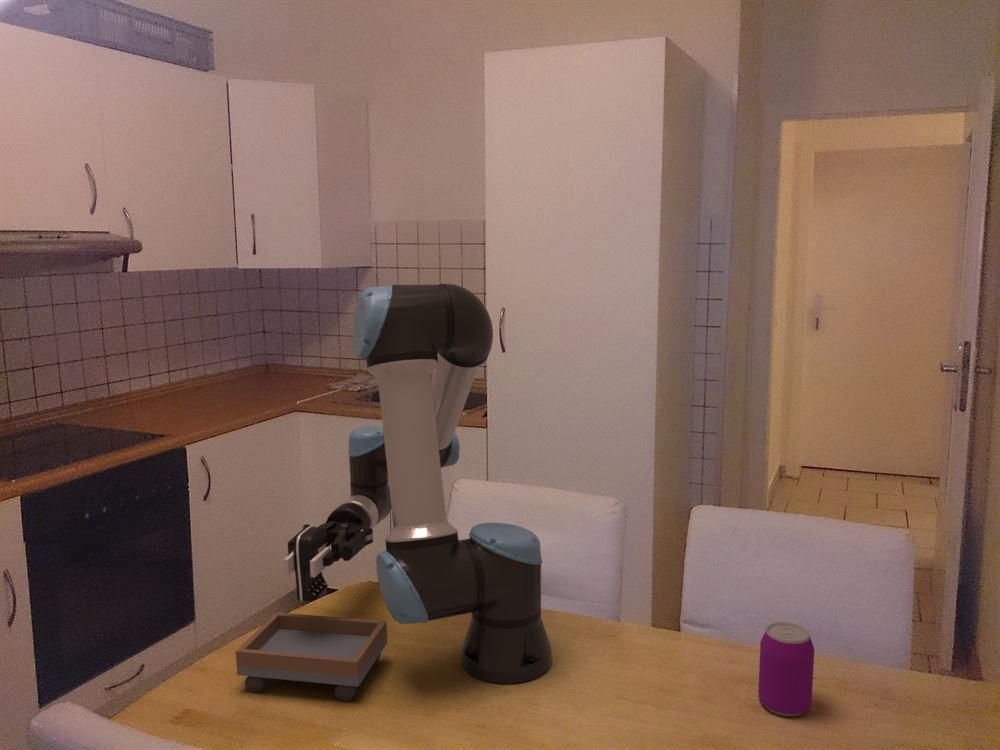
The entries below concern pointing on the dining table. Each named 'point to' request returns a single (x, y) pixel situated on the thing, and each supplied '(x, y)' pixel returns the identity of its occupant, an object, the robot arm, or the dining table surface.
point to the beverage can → (786, 669)
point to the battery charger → (304, 551)
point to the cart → (312, 651)
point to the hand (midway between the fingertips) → (299, 568)
